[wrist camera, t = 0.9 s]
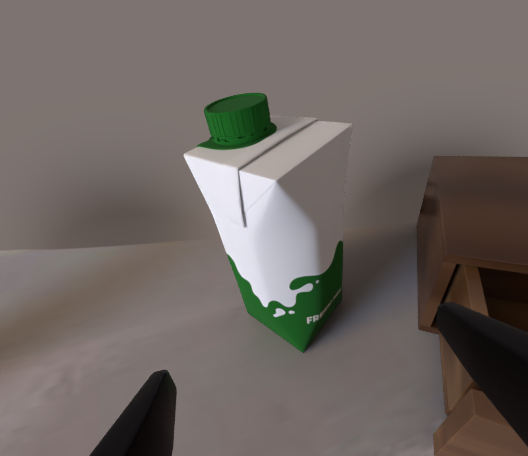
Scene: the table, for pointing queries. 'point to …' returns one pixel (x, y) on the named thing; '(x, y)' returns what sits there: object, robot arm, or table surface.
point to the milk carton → (277, 209)
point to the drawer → (459, 381)
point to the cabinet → (470, 223)
